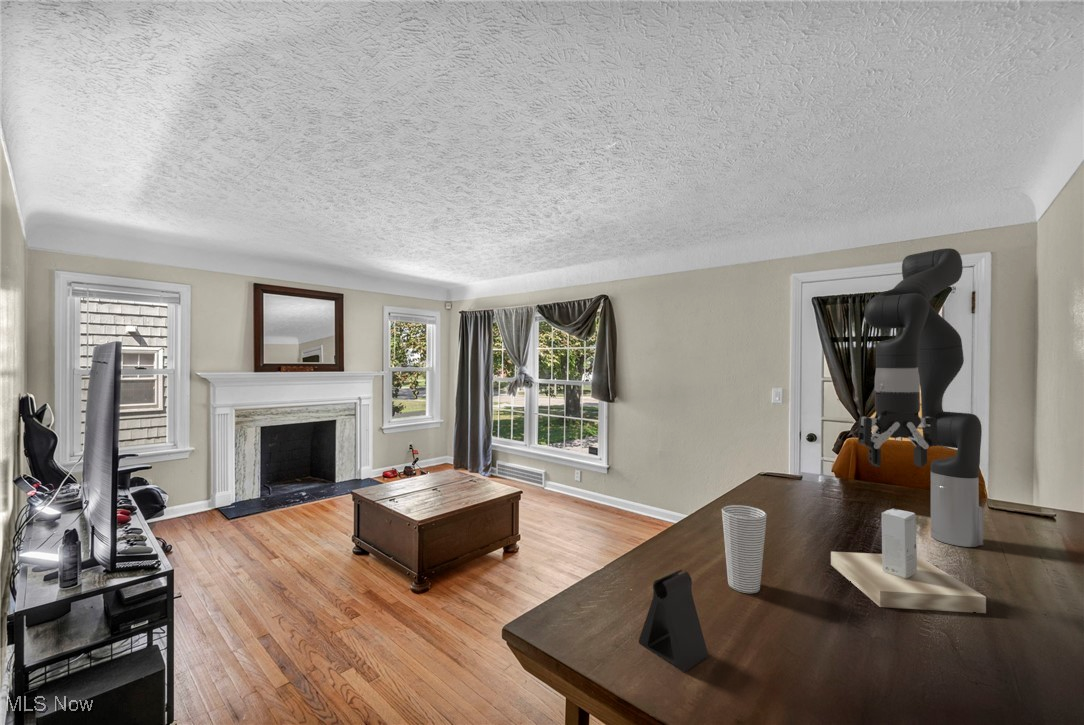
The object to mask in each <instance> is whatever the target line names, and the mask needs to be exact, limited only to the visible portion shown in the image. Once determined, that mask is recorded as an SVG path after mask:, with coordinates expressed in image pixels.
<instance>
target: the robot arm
mask: <svg viewBox="0 0 1084 725" xmlns="http://www.w3.org/2000/svg"><path fill="white" fill-rule="evenodd" d="M901 263H902V264H901V275H902V280H901V281H900V282H898V283H897V284H896V285H895V286H894V287H893V288H891V289H888V290H886V291H883V292H880V293H879V294H877V295H875V296H873V297H872V298H871V299H870V300H869V301H868V302H867V303H866V306H865V308H864V319H865V321H866V323H867V324H868V325H869V326H870V327H872V328H874V329H877V330H878V329H879V330H888V329H889V330H890V329H903V330H902V333H901V334H900V335H899V336H898V337H894V338H890V339H885V340H881V341H879V342H877V344H876V346H875V374H874V409H875V416H874V417H867V416H862V415H861V416H859V418H858V431H857V433H858V434H857V442H858V444H861V445H863V446H865V447H867V448H868V461H869V463H870V464H871V466H873V467H876V468H877V467H881V466H882V460H881V459H882V452H881V451H882V450H881V449H880V448H881V447H882V445H883V444H884V443H885V442H887V441H888V440H889V439H890V438H892V439H899V438H903V439H908V440H909V441H911V443H912V444H913V464H914V465H915V466H916V467H920V468H923V467H925V466H926V465H927V463H928V449H929V448H930V447H944V448H945V447H946V448H952V449H957V450H956V454H955V455H953V456H951V457H947V458H946V457H945V458H939V459H934V460H932V461H931V462H930V537H931V538H932V539H934V540H937V541H938V542H942V543H945V544H948V545H952V546H959V547H966V548H975V547H978V546H984V508H983V507H982V506H980V504H979V503H980V500H979V498H980V497H979V496H980V495H979V485H980V484H979V480H980V479H979V477H980V476H979V473H980V472H979V470H980V466H981V446H982V445H981V444H982V436H983V435H982V430H983V429H982V424H981V423H982V422H981V420H980V418H979V417H978V416H977V415H976V414H973V413H966V412H955V411H944V409H943V399H944V398H943V397H944V395H945V393H946V391H947V389H948V387H949V386H950V385H951V383H952V382H953V381H954V379H955V378H956V377H957V375H958V374H959V372H960V371H961V369H962V367H963V364H964V362H965V358H964V350H963V342H962V337H961V336H960V333H959V332H958V331H957V330H956V328H954V326H952V324H950V323H949V322H948V321H947V320H946V319H945V318H944V317H942V316H941V314H939V312H937V310H935V308H934V307H933V306H932V304H931V303H930V301H931V299H932V298H934V297H935V296H936V295H938V294H939V293H941V292H942V291H944V290H946V289H947V288H949V287H951V286H953V285H955V284H956V283H958V282H959V280H960V279H961V278H962V275H963V269H964V268H963V260H962V256H961V254H960V253H959V251H958V250H956V249H955V248H952V247H949V248H948V247H947V248H940V249H939V248H938V249H934V250H928V251H924V252H919V253H912V254H908V255H907V256H905V257H904V258H903V260H902V262H901ZM920 411H921V417H920V415H919V413H920ZM874 426H876V427H877V428H876V429H875V430H874V431H873V433H872V428H873V427H874ZM919 426H920V427H922V433H921V432H920V431H919V430H918V427H919ZM914 446H915V447H914Z"/></svg>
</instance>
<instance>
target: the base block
mask: <svg viewBox="0 0 1084 725" xmlns="http://www.w3.org/2000/svg"><path fill="white" fill-rule="evenodd" d="M830 565H831V566H832V567H833V568H834V569H835V570H836V571H837V572H839V573H840V574H841V575H842V576H843V577H845V578H846V579H847V580H848V581H849V582H850V581H851V582H850V583H852V584H853V585H854V586H855V587H857V588H858V590H860V591H861V592H862V593H863V594H864V595H865V596H867V597H868V598H869V599H870V600H871V601H873V603H875V604H876V605H877V606H878V607H880V608H893V609H909V610H910V609H911V610H925V611H927V610H928V611H940V612H941V611H944V612H957V613H973V612H976V614H986V613H987V597H986V596H985V595H984V594H982V593H980V592H979V591H977V590H975V589H973V588H972V587H970V586H968V585H967V584H965V583H964V582H961V581H960V580H959V579H956V578H955V577H953V576H952V575H951V574H948V573H947V572H945V571H943V570H942V569H940V568H938V567H937V566H935V565H933V564H932V563H930V562H929V561H928V560H925V559H923V557H920V556H918V555H917V572H916V573H915V574H914V575H912V576H910V577H909V578H906V579H905V578H901V577H898V576H895V575H892V574H889V573H886V572H884V571H883V569H882V553H871V552H870V553H867V552H850V551H849V552H846V551H830Z"/></svg>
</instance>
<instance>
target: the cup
mask: <svg viewBox="0 0 1084 725" xmlns="http://www.w3.org/2000/svg"><path fill="white" fill-rule="evenodd" d="M767 516H768V515H767V512H766V511H765V510H763V509H760V508H758V507H753V506H749V505H742V504H730V505H725V506H723V507H722V508H721V518H722V528H723V529H722V530H723V540H724V551H725V563H726V574H727V583H728V586H729V587H730V588H731V589H732V590H734V591H737V592H738V593H739V592H740V593H743V594H756V593H758V592H760V589H761V583H762V582H761V581H762V570H763V561H764V558H763V557H764V548H765V538H766V527H767Z"/></svg>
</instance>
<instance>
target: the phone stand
mask: <svg viewBox="0 0 1084 725" xmlns="http://www.w3.org/2000/svg"><path fill="white" fill-rule="evenodd" d="M681 572H682V573H681ZM679 573H680V574H679ZM692 586H693V581H692V577H691V575H690V573H689V572H688V571H684V572H683V569H682V568H681V569H678V570H676V571H673V572H671V573H670V574H667V575H664V576H663V577H660V578H657V579H656V580H654V581H653V583H652V589H653V594H652V595H653V596H652V600H651V603H650V606H649V609H648V613H647V615H646V618H645V621H644V624H643V626H642V630H641V633H640V635H639V638H638V643H639V645H641V646H642V647H644V648H645V649H646V650H648V651H650V652H651V653H653V655H656V656H657V657H658V658H661V659H662V660H663V661H665V662H667V663H668V664H670V665H671V666H673V667H674V668H676V669H677V670H678V671H681V673H685V672H688V671H689V670H690V669H692V668H693V667H695V666H697V665H698V664H699V663H701V662H703V661H704V660H706V659H707V658H708V657H709V653H708V649H707V645H706V640H705V638H704V633H703V631H702V630H703V629H702V627H701V622H700V618H699V615H698V612H697V608H696V607H697V606H696V604H695V602H694V601H695V600H694V597H693V592H692Z"/></svg>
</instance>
